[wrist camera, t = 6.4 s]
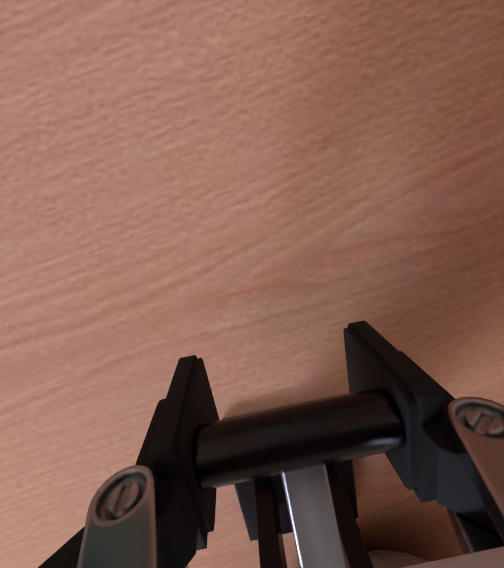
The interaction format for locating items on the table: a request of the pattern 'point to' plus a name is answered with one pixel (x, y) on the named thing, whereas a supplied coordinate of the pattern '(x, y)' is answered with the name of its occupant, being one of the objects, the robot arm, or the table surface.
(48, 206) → the table surface
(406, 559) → the bowl
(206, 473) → the lever
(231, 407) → the table surface
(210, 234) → the table surface
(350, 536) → the bracket
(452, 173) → the table surface
